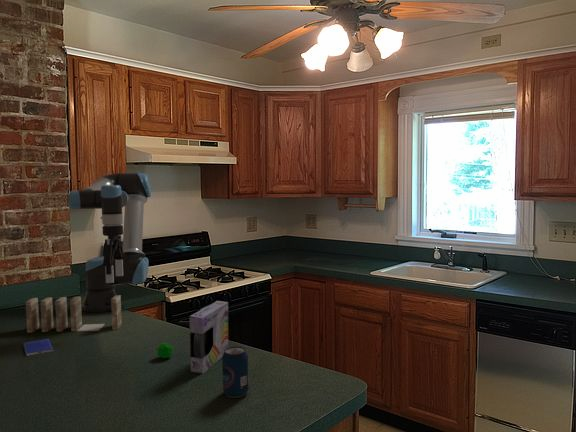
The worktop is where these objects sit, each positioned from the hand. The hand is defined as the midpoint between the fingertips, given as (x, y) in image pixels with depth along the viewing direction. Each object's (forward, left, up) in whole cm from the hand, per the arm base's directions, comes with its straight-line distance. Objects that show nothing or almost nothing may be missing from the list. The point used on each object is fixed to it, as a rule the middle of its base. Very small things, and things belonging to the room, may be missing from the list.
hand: (114, 279), depth 195 cm
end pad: (+10, 0, -19) cm, 22 cm away
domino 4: (+16, 0, -19) cm, 25 cm away
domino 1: (+32, 0, -19) cm, 37 cm away
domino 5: (0, 0, -19) cm, 19 cm away
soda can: (-49, +65, -19) cm, 84 cm away
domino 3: (+21, 0, -19) cm, 28 cm away
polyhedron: (-25, +36, -19) cm, 48 cm away
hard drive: (+21, +22, -20) cm, 36 cm away
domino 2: (+27, 0, -19) cm, 33 cm away
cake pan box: (-40, +42, -19) cm, 61 cm away
